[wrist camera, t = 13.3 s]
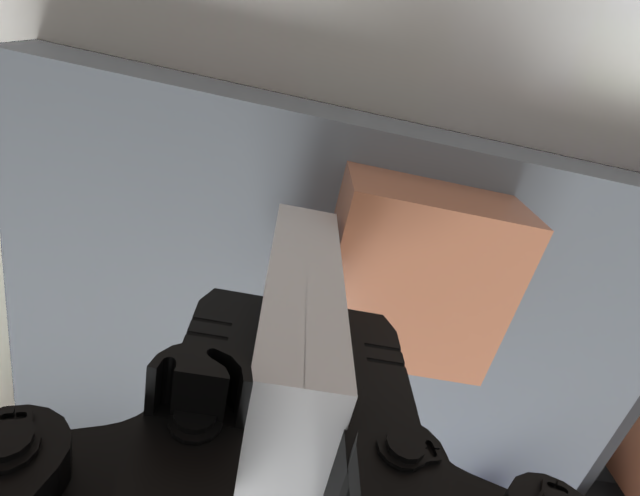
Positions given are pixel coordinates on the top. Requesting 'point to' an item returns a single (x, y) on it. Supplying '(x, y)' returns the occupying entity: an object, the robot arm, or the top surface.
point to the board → (256, 242)
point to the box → (599, 482)
